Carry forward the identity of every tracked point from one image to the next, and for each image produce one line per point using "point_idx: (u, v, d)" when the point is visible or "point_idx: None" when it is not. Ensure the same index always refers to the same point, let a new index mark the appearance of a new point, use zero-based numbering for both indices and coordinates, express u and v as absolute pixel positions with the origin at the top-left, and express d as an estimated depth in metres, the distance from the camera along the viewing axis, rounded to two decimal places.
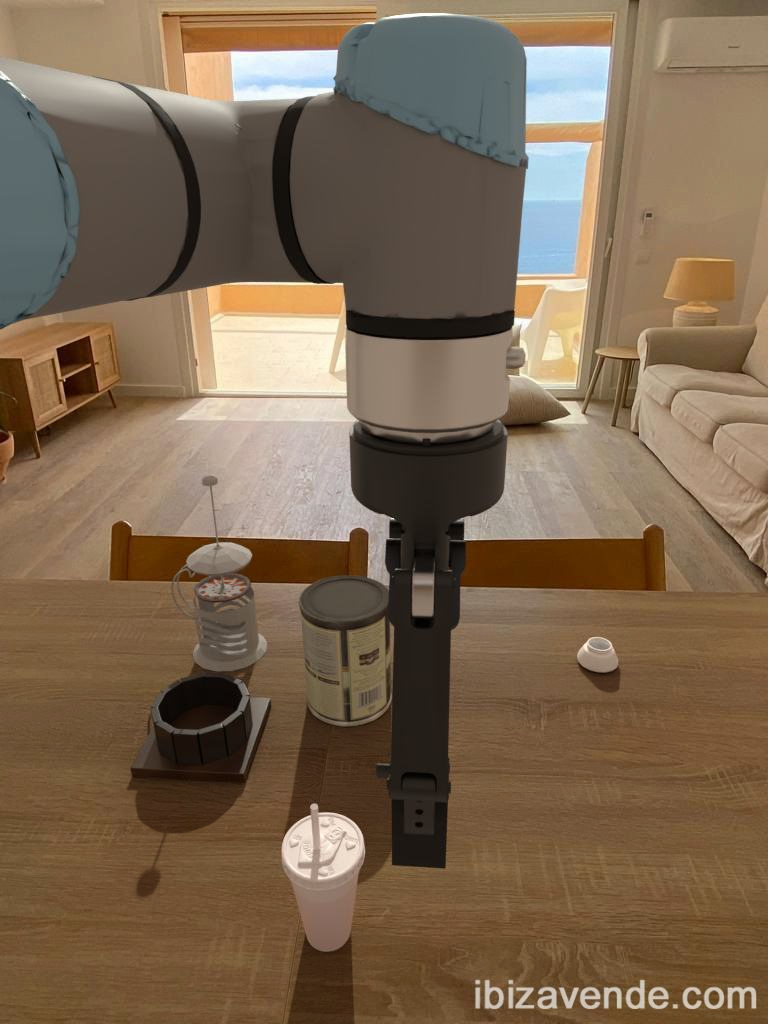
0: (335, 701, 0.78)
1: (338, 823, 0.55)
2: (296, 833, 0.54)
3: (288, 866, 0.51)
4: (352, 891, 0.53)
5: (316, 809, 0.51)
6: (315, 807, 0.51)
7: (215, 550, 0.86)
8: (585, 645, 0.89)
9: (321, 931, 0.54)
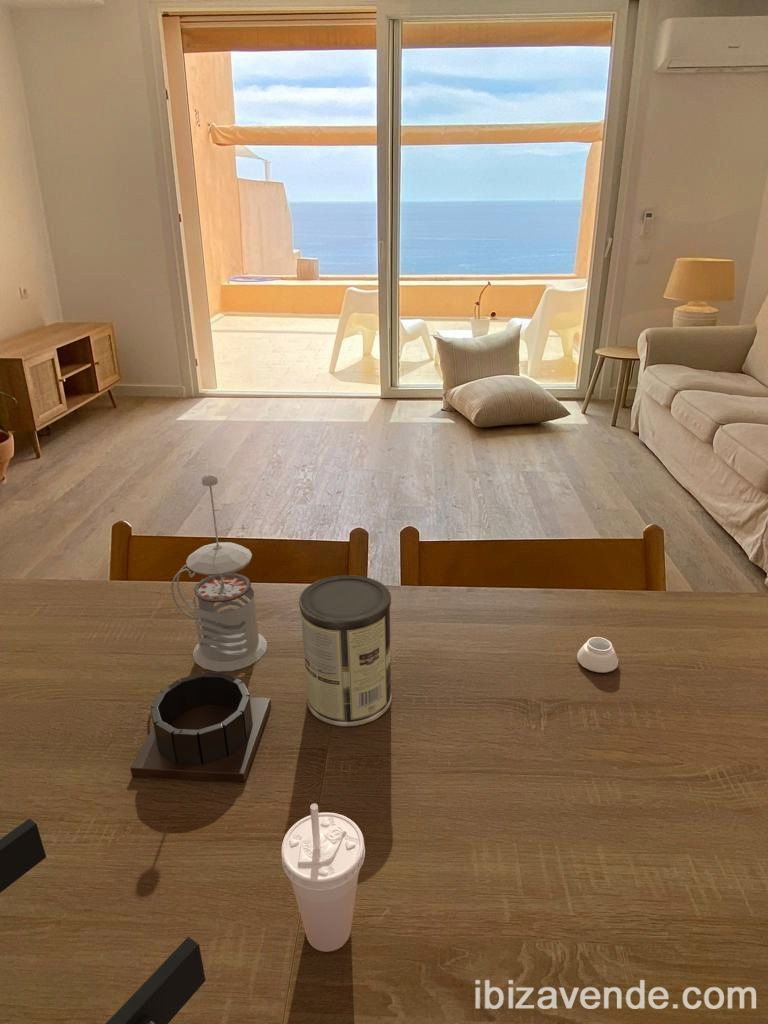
0: (335, 701, 0.78)
1: (338, 823, 0.55)
2: (296, 833, 0.54)
3: (288, 866, 0.51)
4: (352, 891, 0.53)
5: (316, 809, 0.51)
6: (315, 807, 0.51)
7: (215, 550, 0.86)
8: (585, 645, 0.89)
9: (321, 931, 0.54)
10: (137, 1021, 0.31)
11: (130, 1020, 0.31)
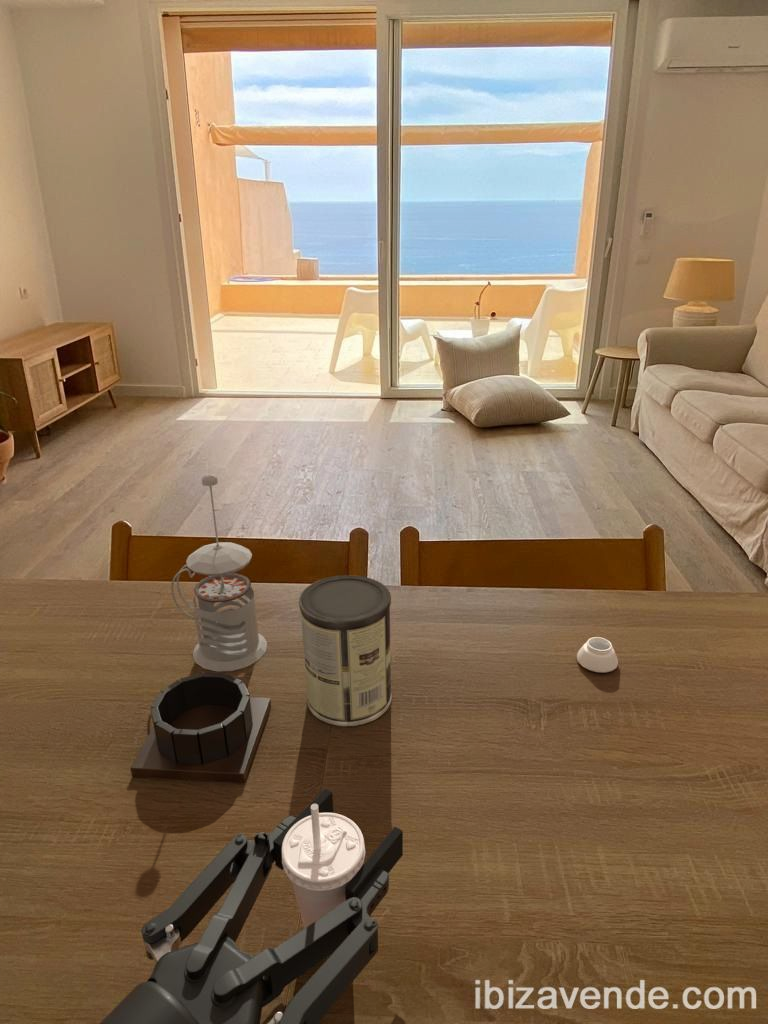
0: (335, 701, 0.78)
1: (338, 823, 0.55)
2: (296, 833, 0.54)
3: (288, 866, 0.51)
4: None
5: (316, 809, 0.51)
6: (315, 807, 0.51)
7: (215, 550, 0.86)
8: (585, 645, 0.89)
9: None
10: (375, 870, 0.52)
11: (373, 868, 0.52)
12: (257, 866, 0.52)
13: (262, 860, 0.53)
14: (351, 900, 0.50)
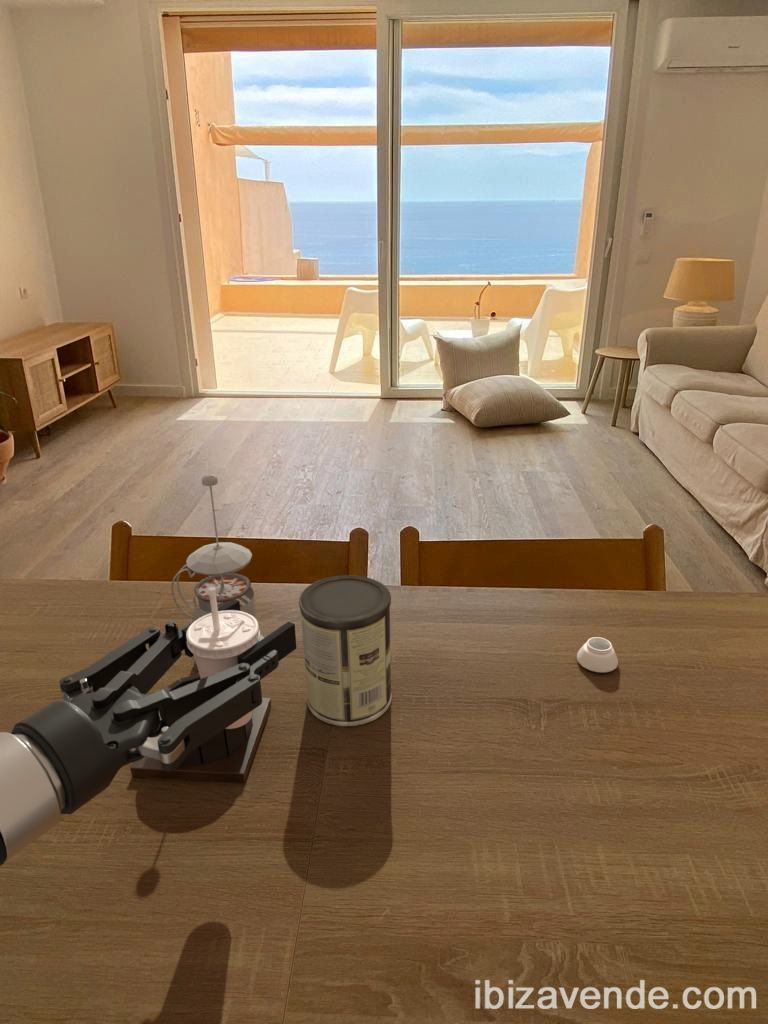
0: (335, 701, 0.78)
1: (239, 616, 0.63)
2: (201, 622, 0.62)
3: (190, 641, 0.60)
4: None
5: (213, 590, 0.59)
6: (212, 589, 0.59)
7: (215, 550, 0.86)
8: (585, 645, 0.89)
9: None
10: (266, 649, 0.61)
11: (263, 646, 0.61)
12: (165, 645, 0.61)
13: (170, 642, 0.61)
14: (241, 664, 0.58)
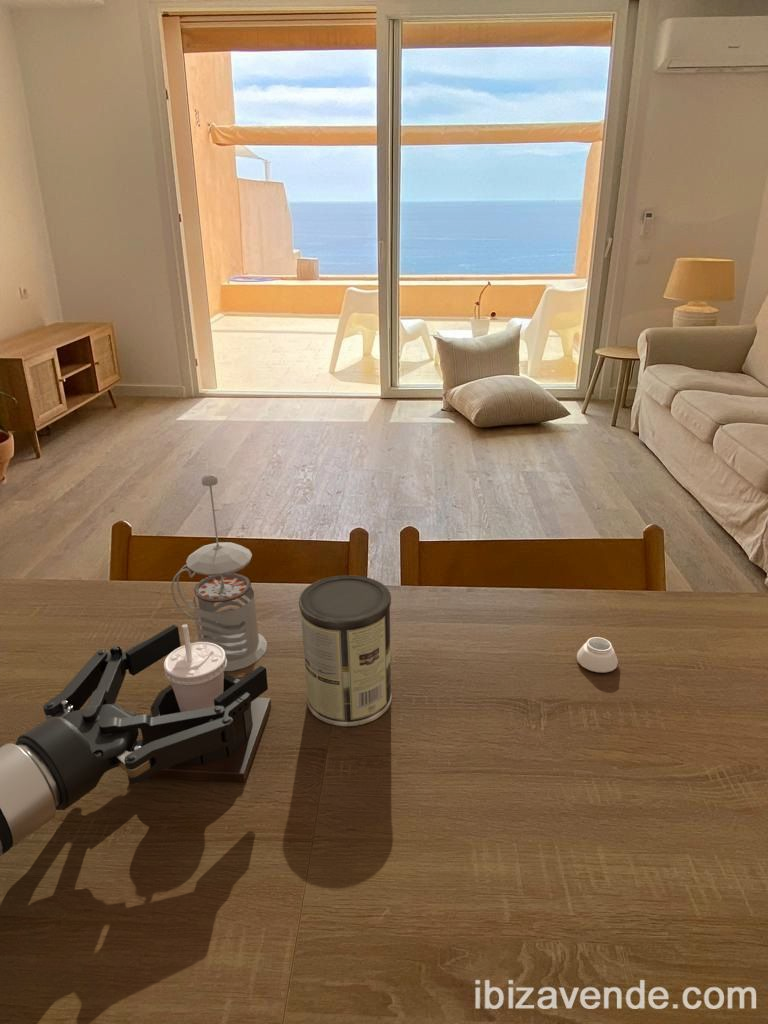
0: (335, 701, 0.78)
1: (209, 647, 0.75)
2: (177, 653, 0.74)
3: (167, 670, 0.71)
4: (216, 693, 0.73)
5: (186, 627, 0.70)
6: (185, 626, 0.70)
7: (215, 550, 0.86)
8: (585, 645, 0.89)
9: None
10: (240, 692, 0.69)
11: (237, 689, 0.69)
12: (117, 665, 0.72)
13: (119, 662, 0.73)
14: (218, 706, 0.66)
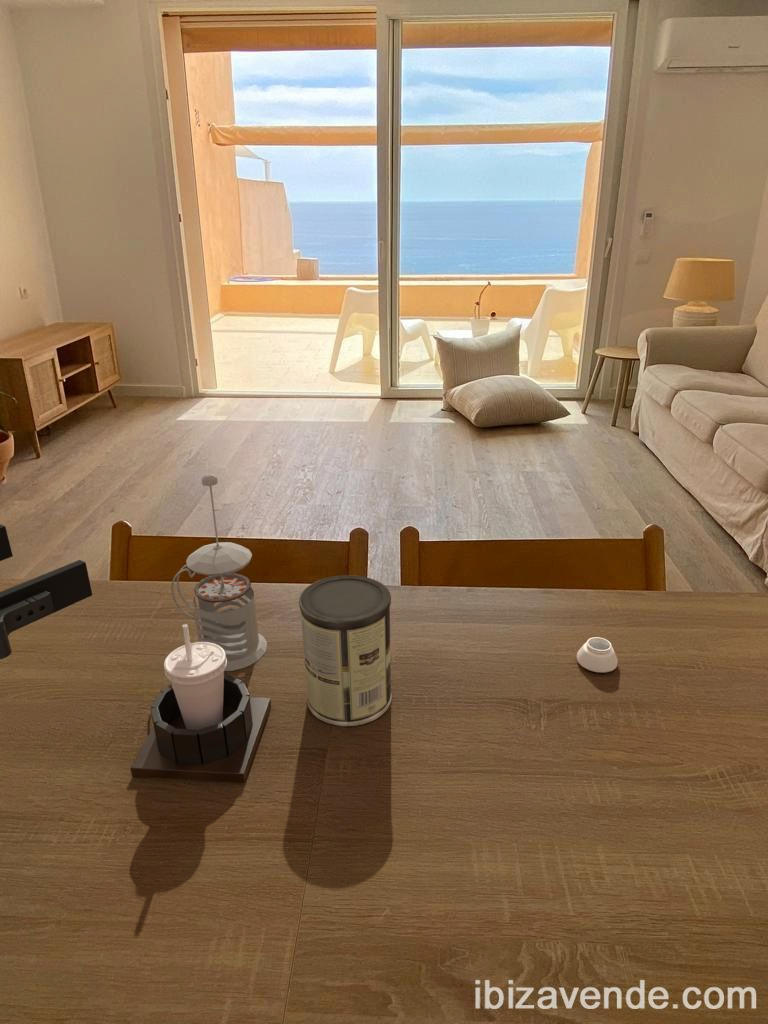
0: (335, 701, 0.78)
1: (209, 647, 0.75)
2: (177, 653, 0.74)
3: (167, 669, 0.71)
4: (216, 693, 0.73)
5: (186, 627, 0.70)
6: (185, 626, 0.70)
7: (215, 550, 0.86)
8: (585, 645, 0.89)
9: (195, 723, 0.73)
10: (37, 591, 0.47)
11: (31, 586, 0.47)
12: None
13: None
14: None
